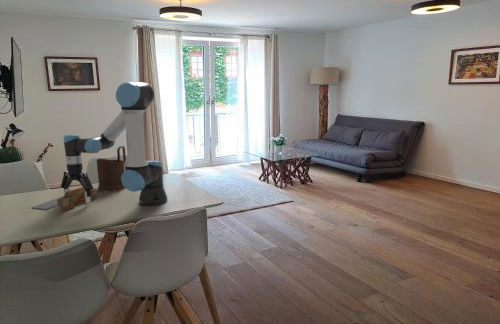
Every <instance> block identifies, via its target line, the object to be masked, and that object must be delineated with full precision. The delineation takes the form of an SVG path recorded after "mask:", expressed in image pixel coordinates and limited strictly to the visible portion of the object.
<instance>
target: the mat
mask: <svg viewBox="0 0 500 324" xmlns="http://www.w3.org/2000/svg"><path fill="white" fill-rule="evenodd" d="M61 197H64V195H63V196H60V197H57V198H55V199H52V200H49V201H46V202H42V203H40V204H37V205H34V206H32V207H31V209H35V210H41V211H42V210H44V211H47V210H51V209H53V208H56V207H58V205H57V199H59V198H61Z"/></svg>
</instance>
